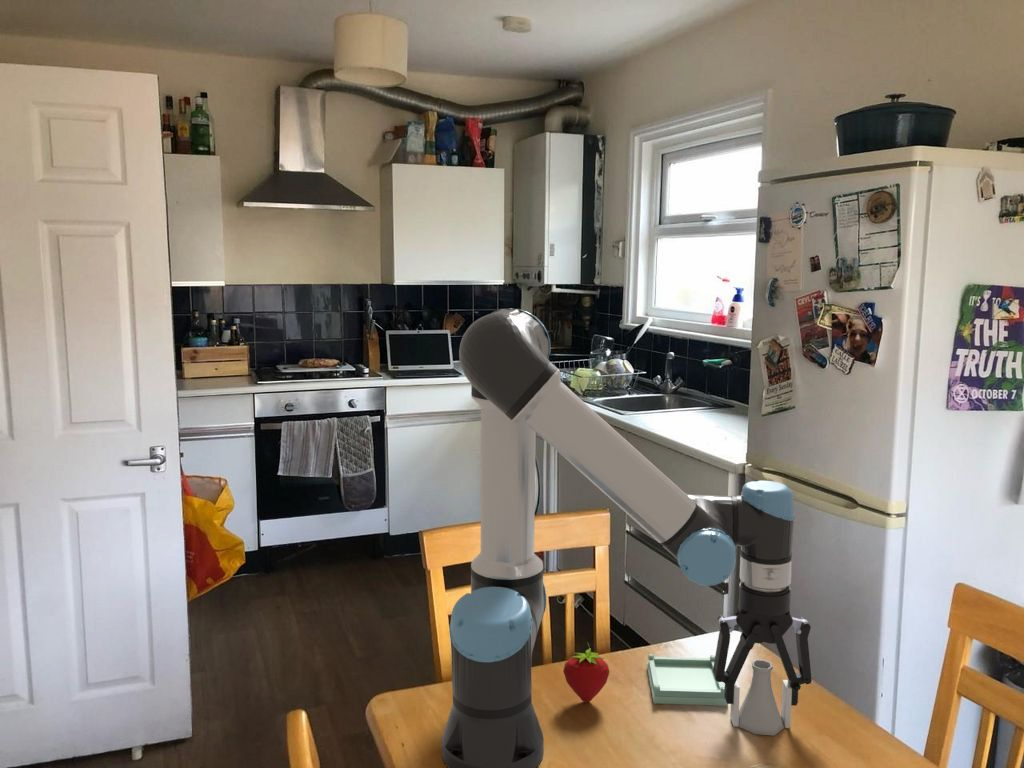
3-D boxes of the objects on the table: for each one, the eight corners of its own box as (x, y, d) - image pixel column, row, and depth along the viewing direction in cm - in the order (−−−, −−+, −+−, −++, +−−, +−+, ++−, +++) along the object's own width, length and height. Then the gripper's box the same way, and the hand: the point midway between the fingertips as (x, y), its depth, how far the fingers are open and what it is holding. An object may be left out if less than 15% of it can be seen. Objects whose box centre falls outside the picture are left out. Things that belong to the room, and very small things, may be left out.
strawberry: (562, 691, 140) (562, 636, 138) (607, 692, 139) (608, 636, 138) (563, 710, 134) (563, 652, 132) (610, 711, 133) (611, 653, 132)
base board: (653, 703, 136) (653, 688, 135) (647, 667, 148) (647, 653, 147) (727, 705, 135) (728, 690, 134) (715, 669, 147) (715, 655, 146)
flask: (731, 729, 128) (733, 669, 127) (741, 707, 134) (743, 649, 133) (779, 741, 125) (782, 680, 123) (787, 718, 131) (790, 659, 130)
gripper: (701, 591, 123) (698, 733, 127) (840, 594, 122) (833, 738, 125) (694, 572, 131) (691, 707, 134) (825, 574, 129) (818, 711, 132)
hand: (759, 722), depth 130 cm, fingers closed on flask, 7 cm apart
